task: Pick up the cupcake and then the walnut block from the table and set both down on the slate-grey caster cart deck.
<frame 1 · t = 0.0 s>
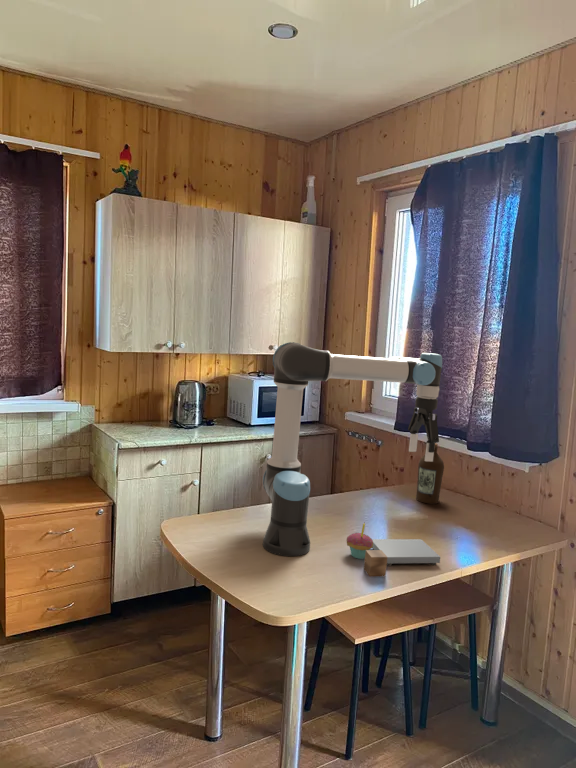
hand: (420, 456, 208), 28 cm above the table, tool pointing down, fingers open, 13 cm apart
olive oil: (426, 500, 250), on the table
walnut block: (374, 572, 174), on the table
cart deck: (403, 556, 188), on the table
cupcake: (358, 556, 185), on the table
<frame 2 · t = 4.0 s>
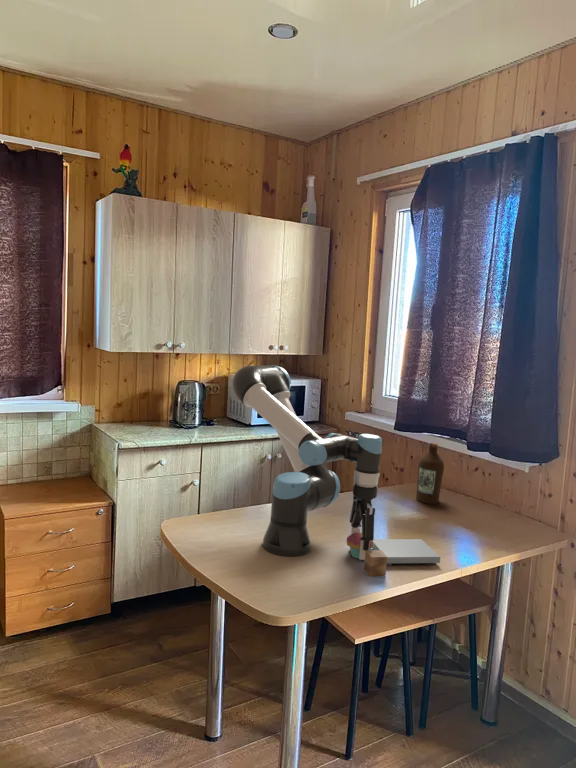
hand: (358, 553, 185), 1 cm above the table, tool pointing down, fingers closed on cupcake, 8 cm apart
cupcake: (358, 556, 185), on the table, touching gripper
everything else where it was.
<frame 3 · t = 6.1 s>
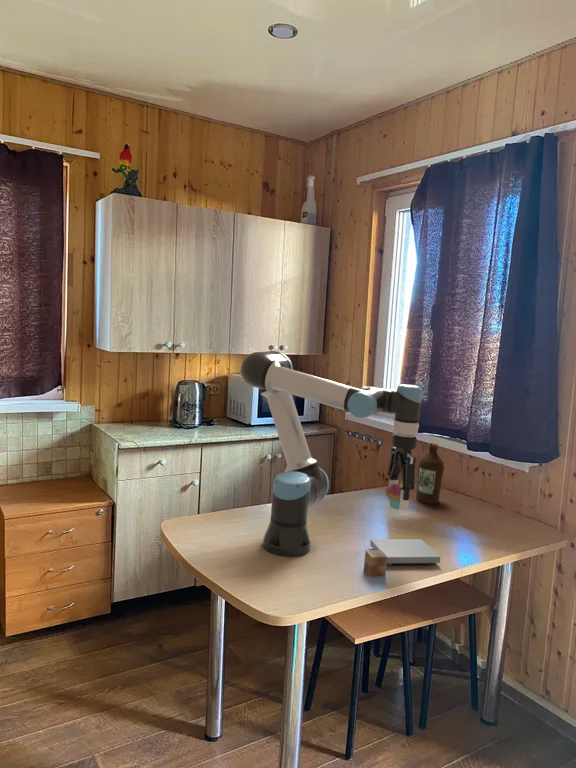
hand: (397, 504, 185), 17 cm above the table, tool pointing down, fingers closed on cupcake, 8 cm apart
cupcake: (397, 507, 185), point 16 cm above the table, touching gripper
everything else where it was.
when the fingers open (6 cm above the table, at t = 8.6 s): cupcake drops 2 cm, resting on cart deck.
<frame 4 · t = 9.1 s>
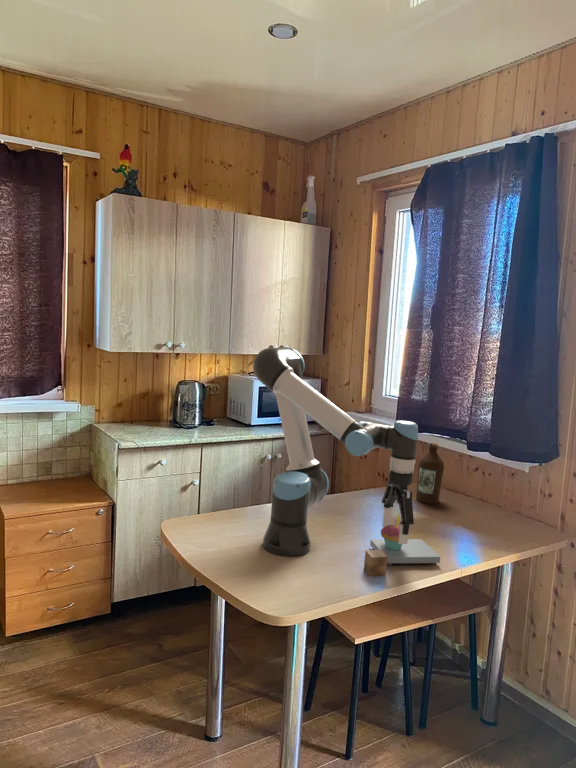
hand: (394, 535, 186), 7 cm above the table, tool pointing down, fingers open, 13 cm apart
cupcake: (392, 548, 187), point 3 cm above the table, touching cart deck
everything else where it was.
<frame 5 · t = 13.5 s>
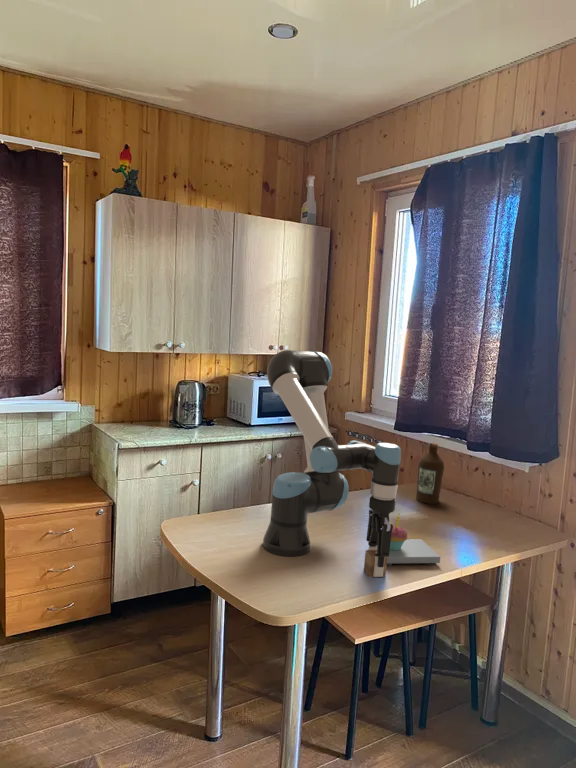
hand: (374, 571, 174), 0 cm above the table, tool pointing down, fingers closed on walnut block, 5 cm apart
walnut block: (374, 572, 174), on the table, touching gripper
everything else where it was.
when the fingers open (3 cm above the table, at t = 19.5 s): walnut block stays where it is, resting on cart deck.
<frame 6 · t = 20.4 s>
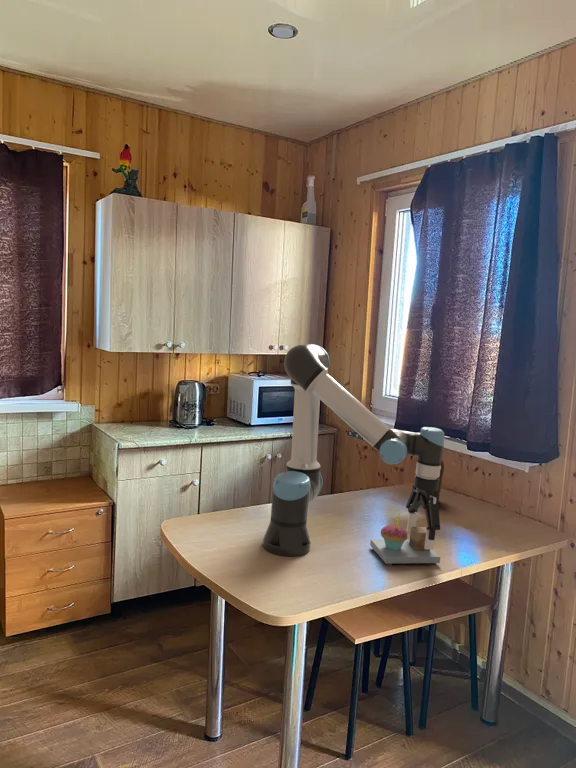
hand: (419, 540, 188), 5 cm above the table, tool pointing down, fingers open, 13 cm apart
walnut block: (419, 547, 188), point 3 cm above the table, touching cart deck
everything else where it was.
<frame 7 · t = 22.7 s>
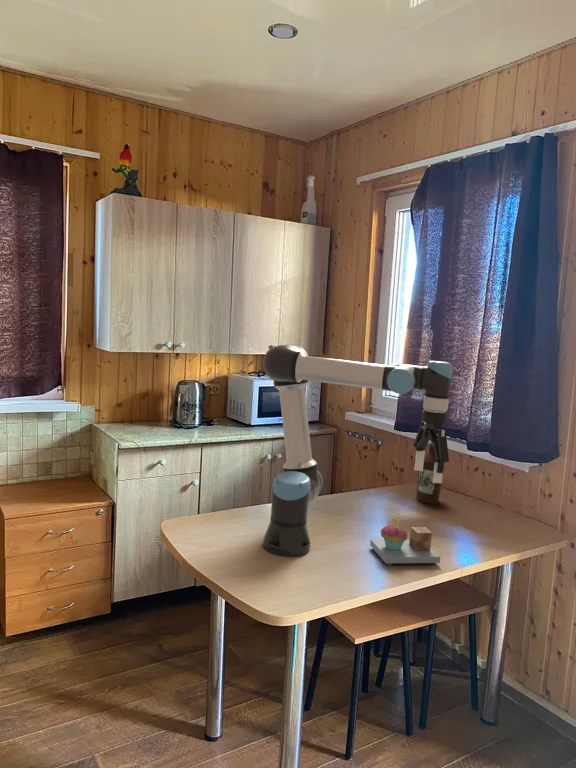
hand: (427, 476, 186), 27 cm above the table, tool pointing down, fingers open, 13 cm apart
nothing on the table moved.
at the end: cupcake inside the target area (0.4 cm from its centre), point 2.8 cm above the table; walnut block inside the target area (0.1 cm from its centre), point 3.0 cm above the table; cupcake tilted 0° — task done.
